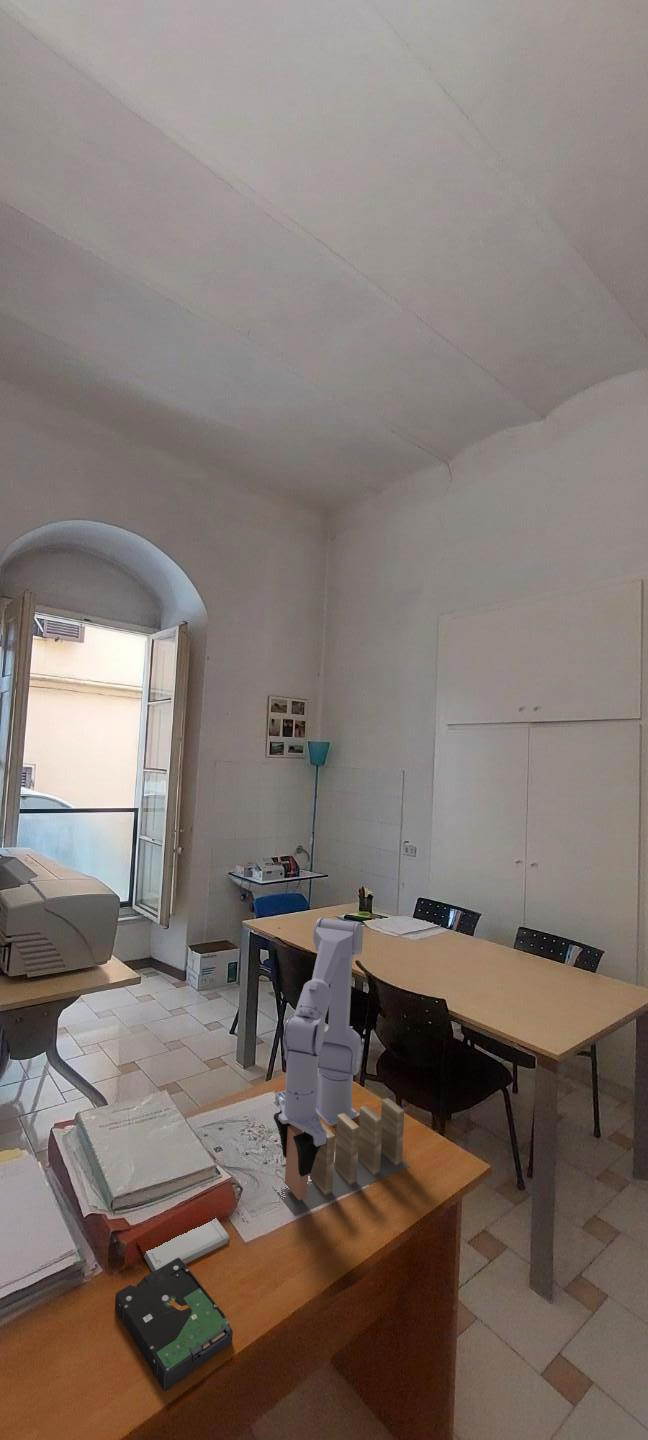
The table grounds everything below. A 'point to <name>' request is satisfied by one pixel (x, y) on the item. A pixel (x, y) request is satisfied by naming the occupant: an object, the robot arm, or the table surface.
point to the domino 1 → (294, 1166)
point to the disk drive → (173, 1322)
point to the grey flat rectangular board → (338, 1186)
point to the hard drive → (188, 1245)
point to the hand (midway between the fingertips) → (297, 1164)
